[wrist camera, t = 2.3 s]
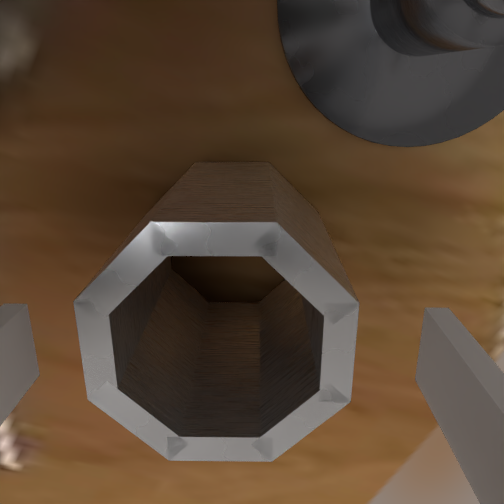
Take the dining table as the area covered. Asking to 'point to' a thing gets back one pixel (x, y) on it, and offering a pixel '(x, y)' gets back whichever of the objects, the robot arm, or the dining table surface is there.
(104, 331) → the sleeve
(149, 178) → the dining table surface
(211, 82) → the dining table surface
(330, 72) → the duct stub
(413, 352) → the dining table surface
